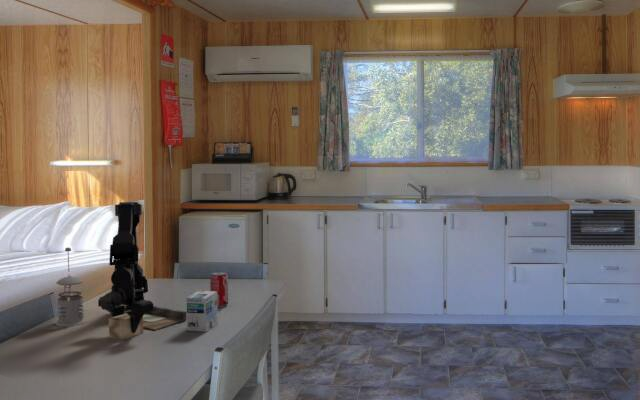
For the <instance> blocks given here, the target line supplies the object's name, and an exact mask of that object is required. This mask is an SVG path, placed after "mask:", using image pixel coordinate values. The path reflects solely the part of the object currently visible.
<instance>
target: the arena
mask: <svg viewBox="0 0 640 400" xmlns="http://www.w3.org/2000/svg"><path fill="white" fill-rule="evenodd" d="M128 312H131V310H128V311H124V314H126V313H128ZM186 320H187V311H185V310H179V309H174V308H168V307H163V306H156V305H153V310H152V311H148V312H145V313H144V315H143V330H149V331H155V332H156V331H159V330H162V329H165V328H168V327H170V326H169V325H171V326H174V325H177V323H178V324H181V323H183V321H184V322H187V321H186ZM180 322H181V323H180ZM173 324H174V325H173ZM167 326H168V327H167ZM164 327H165V328H164ZM161 328H162V329H161Z"/></svg>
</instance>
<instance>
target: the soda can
mask: <svg viewBox="0 0 640 400" xmlns="http://www.w3.org/2000/svg"><path fill="white" fill-rule="evenodd" d="M209 280H210V282H209V284H210V285H209V286H210V287H209V289H210V290H209V291H217V305H218V308H225V307H227V305H229V276H228V274H227V272H225V271H214V272H211V274H210V278H209Z"/></svg>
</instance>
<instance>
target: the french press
mask: <svg viewBox="0 0 640 400" xmlns="http://www.w3.org/2000/svg"><path fill="white" fill-rule="evenodd" d="M71 251H72V248H71V247H66V248H65V249H64V252H67V263H68V264H67V267H68V271H70V262H69V261H70V256H69V255H70V254H69V253H70V252H71ZM83 281H84V280H83V279H81V278H79V277H76V276H70V275H68V276H66V277H62V278H60V279H59V280H57V281H56V284H57V285H58V286H63V288H64V289H63V292H59V293H58V298H57V318H58V319H57V321H56V322H55V326H57V327H67V328H68V327H75V326H77V327H78V326H81V325H83V324H85V323H87V319H86V318H84V317H85V316H84V299H83V296H81V294H82V292H81V291H79V290H78V291H77V290H76V291H75V290H71V287H72V286H74V285H79V284H82V283H83ZM66 289H69V291H68V290H67V291H66ZM68 298H69V300H68Z"/></svg>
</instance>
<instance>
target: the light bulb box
mask: <svg viewBox="0 0 640 400" xmlns="http://www.w3.org/2000/svg"><path fill="white" fill-rule="evenodd" d="M185 300H186V317H187V321H186V324H187V331H189V332H200V333H201V332H204V333H205V332H206V333H207V332H209V331H210V330H211V329H212V328H214V327H216V325H218V324H219V319H218V318H219V312H218V310H219V307H218V305H217V291H210V290H197V291H196V292H193V293H192V294H191V295H189V296H187V297H186V299H185Z"/></svg>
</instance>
